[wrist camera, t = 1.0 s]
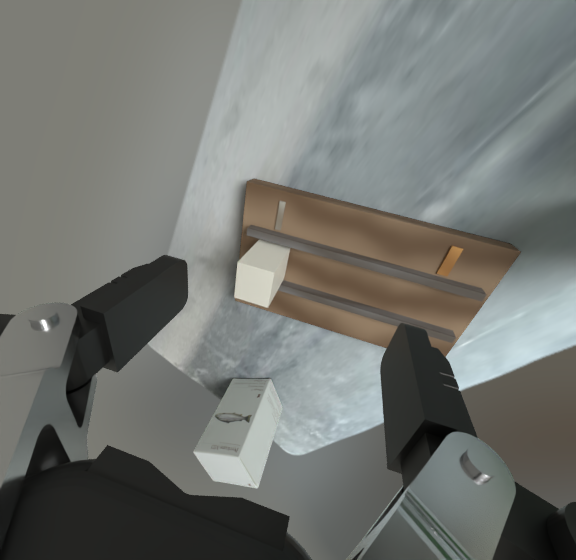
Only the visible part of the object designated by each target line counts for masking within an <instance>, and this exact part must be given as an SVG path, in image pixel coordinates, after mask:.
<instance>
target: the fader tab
mask: <svg viewBox="0 0 576 560" xmlns="http://www.w3.org/2000/svg"><path fill="white" fill-rule="evenodd" d="M289 253H290V247H287V246H283V245H280V244H276V243H273V242H269V241H266V240H262V239H259V240H258V241H257V242H256V243H255V244H254V245H253V247H252V248H251V249H250V250H249V251H248V252H247V253H246V254H245V255H244V256H243V257H242V258H241V259H240V260H239V261H238V263H237V274H236V284H235V294H234V297H235V298H238V299H241V300H244V301H247V302H251V303H254V304H257V305H260V306H263V307H267V308H268V307H269V305H270V303H271V301H272V300H273V298H274V296H275V294H276V292H277V291H278V289H279V287H280V285H281V283H282V281H283V280H284V277H285V272H286V267H287V262H288V258H289Z"/></svg>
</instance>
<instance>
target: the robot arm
mask: <svg viewBox="0 0 576 560" xmlns="http://www.w3.org/2000/svg"><path fill="white" fill-rule="evenodd" d="M187 298H188V274H187V263H186V261H185V260H182V259H178V258H175V257H171V256H168V255H163V256H161V257H159V258H158V259H156V260H155V261H153V262H151V263H150V264H145V265H142V266H138V267H135V268H133V269H131V270H129V271H128V272H126V273H124V274H122V275H121V277H117V278H116V279H114V280H112V281H111V283H107V284H105V285H104V286H102V287H100V288H99V289H97V290H95V291H93V292H92V293H90V294H88V295H87V296H85V297H83V298H82V299H80V300H78V301H76V302H75V303H73V304H71V305H69V304H66V303H46V304H41V305H37V306H34V307H31V308H28V309H26V310H24V311H22V312H20V313H18V314H17V315H8V314H0V560H312V559H311V557H310V556H309V555H308V553H307V552H306V550H305V549H304V548H303V547H302V546H301V545H300V544H299V543H298V542H297V541H296V540H295V539H294V538H293V537H292V536H291V535H290V534H288V533H287V527H288V522H289V516H287V515H284V514H282V513H279V512H277V511H274V510H272V509H269V508H267V507H264V506H261V505H259V504H256V503H254V502H251V501H249V500H246V499H243V498H237V497H236V498H235V497H218V496H198V495H189V494H186V493H184V492H183V491H182V490H181V489H179V488H178V487H177V486H176V485H175V484H174V483H173V482H172V481H170V480H169V479H168V478H167V477H166V476H165V475H164V474H163V473H161V472H160V471H159V470H158V469H157V468H156V467H155V466H153V464H151V463H150V462H149V461H147V460H144V459H141V458H139V457H136V456H134V455H131V454H128V453H126V452H124V451H121V450H118V449H116V448H113V447H111V446H108V445H107V447H106V448H105V449H104V450H103V451H102V452H101V454H100V455H99V456H98V457H97V459H88V450H87V433H88V427H89V422H90V416H91V411H92V405H93V400H94V394H95V389H96V383H97V376H96V373H97V372H98V371H99V370H100V369H101V368H103V367H104V368H106V369H109V370H112V371H115V372H118V371H120V370H121V369H122V368H123V367H124V366H125V365H126V364H127V363H128V362H129V361H130V359H132V358H133V357H134V356H135V355H136V354H137V353H138V352H139V351H140V350H141V349H142V348H143V347H144V346H145V345H146V344H147V343H148V342H149V341H150V340H151V339H152V338H153V337H154V336H155V335H156V334H157V333H158V332H159V331H160V330H162V329H163V328H164V327H165V326H166V325H167V324H168V323H169V322H170V321H171V320H172V319H173V318H174V317H175V316H176V315H177V314H178V313H179V312H180V311H181V310H182V309H183V307H184V306H185V304H186V302H187ZM380 373H381V386H382V400H383V414H384V428H385V441H386V454H387V468H388V469H389V470H392V471H395V472H398V473H401V474H402V479H403V487H402V488H401V489H400V490H399V491H398V493H397V494H396V495H395V497H394V498H393V499H392V501H391V502H390V504H389V505H388V506H387V507H386V509H385V510H384V511H383V513H382V514H381V515H380V517H379V518H378V519H377V521H376V522H375V523H374V525H373V526H372V527H371V529H370V530H369V531H368V533H367V534H366V535H365V537H364V538H363V539H362V540H361V542H360V543H359V544H358V546H357V547H356V548H355V549H354V551H353V552H352V553H351V554H350V556H349V557H348V558H347V559H346V560H576V502H572V503H570V504H568V505H566V506H564V507H563V508H561V509H558V508H556V507H555V506H553V505H552V504H550V503H548V502H547V501H545V500H543V499H542V498H540V497H539V496H537V495H535V494H534V493H532V492H530V491H529V490H527V489H526V488H524V487H522V486H521V485H519V484H518V483H516V482H515V481H514V480H513V477H512V475H511V473H510V471H509V469H508V467H507V466H506V464H505V463H504V462H503V460H502V459H501V458H500V457H499V456H498V454H497V453H496V452H495V451H494V450H493V449H491V448H490V447H489V446H488V445H486V444H485V443H484V442H483V441H481V440H480V439H478V438H477V435H476V432H475V430H474V427H473V424H472V422H471V419H470V416H469V414H468V411H467V408H466V406H465V403H464V400H463V398H462V395H461V392H460V391H458V389H459V387H458V384H457V382H456V379H454V374H453V371H452V368H451V366H450V363H449V361H448V360H447V359H446V358H445V356H444V355H443V354H442V353H441V351H440V350H439V349H438V348H434V347H431V344H430V341H429V337H428V334H427V332H426V330H425V329H422V328H419V327H415V326H412V325H408V324H405V323H401V324H400V325H399V326H398V327H397V329H396V331H395V333H394V335H393V337H392V339H391V341H390V343H389V345H388V347H387V349H386V351H385V353H384V355H383V358H382V362H381V369H380Z"/></svg>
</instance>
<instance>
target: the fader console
mask: <svg viewBox="0 0 576 560" xmlns="http://www.w3.org/2000/svg"><path fill="white" fill-rule="evenodd" d="M259 239H262V240H266V241H269V242H273V243H276V244H280V245H283V246H287V247H290V253H289V258H288V262H287V267H286V272H285V277H284V280H283V281H282V283H281V285H280V287H279V289H278V291H277V292H276V294H275V296H274V298H273V300H272V301H271V303H270V305H269V307H268V308H267V307H263V306H260V305H257V304H254V303H251V302H247V301H244V300H241V299H238V298H235V300H236V301H239V302H242V303H245V304H248V305H251V306H255V307H258V308H261V309H264V310H267V311H270V312H274V313H277V314H280V315H283V316H286V317H290V318H293V319H296V320H299V321H302V322H305V323H309V324H312V325H315V326H318V327H321V328H324V329H328V330H331V331H334V332H337V333H340V334H343V335H347V336H350V337H353V338H356V339H359V340H363V341H366V342H369V343H372V344H375V345H378V346H382V347H385V348H387V347H388V345H389V343H390V341H391V339H392V337H393V335H394V333H395V331H396V329H397V327H398V326H399V325H400V324H401V323H405V324H408V325H412V326H415V327H419V328H422V329H425V330H426V332H427V334H428V337H429V341H430V344H431V347H434V348H438V349H439V350H440V351H441V353H442V354H443V355H444V356H445V357H446V355H447V354H448V353H449V351H450V350H451V348H452V347H453V346H454V344H455V343H456V342H457V340H458V339H459V337H460V336H461V335H462V333H463V332H464V330H465V329H466V328H467V326H468V325H469V324H470V322H471V321H472V319H473V318H474V317H475V315H476V314H477V312H478V311H479V310H480V308H481V307H482V305H483V304H484V303H485V301H486V300H487V299H488V297H489V296H490V294H491V293H492V292H493V290H494V289H495V287H496V286H497V285H498V283H499V282H500V280H501V279H502V278H503V276H504V275H505V274H506V272H507V271H508V269H509V268H510V267H511V265H512V264H513V262H514V261H515V260H516V258H517V257H518V256H519V254H520V253H521V251H519V250H518V249H517V248H515V247H514V246H513V245H512V244H510V243H506V242H502V241H498V240H494V239H490V238H486V237H482V236H478V235H474V234H470V233H466V232H462V231H459V230H455V229H451V228H447V227H443V226H439V225H435V224H431V223H427V222H423V221H419V220H415V219H411V218H407V217H403V216H400V215H396V214H392V213H388V212H384V211H380V210H376V209H372V208H368V207H364V206H360V205H356V204H352V203H348V202H344V201H341V200H337V199H333V198H329V197H325V196H321V195H317V194H313V193H309V192H305V191H301V190H297V189H293V188H289V187H285V186H282V185H278V184H274V183H270V182H266V181H262V180H258V179H252V180H249V181H247V186H246V196H245V206H244V216H243V226H242V236H241V246H240V256H239V260H240V259H241V258H242V257H243V256H244V255H245V254H246V253H247V252H248V251H249V250H250V249H251V248H252V247H253V245H254V244H255V243H256V242H257V241H258V240H259Z"/></svg>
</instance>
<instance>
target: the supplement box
mask: <svg viewBox="0 0 576 560" xmlns="http://www.w3.org/2000/svg"><path fill="white" fill-rule="evenodd" d="M282 408H283V407H282V405H281V402H280V400H279V397H278V395H277V392H276V390H275V387H274V385H273V382H272V380H271V379H236V378H233V380H232V381H231V383H230V385H229V387H228V389H227V390H226V392H225V394H224V396H223V398H222V400H221V402H220V404H219V405H218V407H217V409H216V411H215V413H214V415H213V416H212V418H211V420H210V422H209V424H208V425H207V427H206V429H205V431H204V433H203V435H202V437H201V438H200V440H199V442H198V444H197V446H196V448H195V450H194V451H193V452H194V454H195V456H196V457H197V459H198V460H199V461H200V463H201V464H202V465H203V467H204V468H205V470H206V471H207V473H208V474H209V475H210V477H211V478H212V480H213V481H217V482H224V483H229V484H235V485H241V486H246V487H253V488H258V486H259V483H260V480H261V476H262V473H263V470H264V467H265V463H266V460H267V457H268V454H269V451H270V447H271V444H272V441H273V438H274V434H275V431H276V428H277V425H278V421H279V418H280V415H281V412H282Z"/></svg>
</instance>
